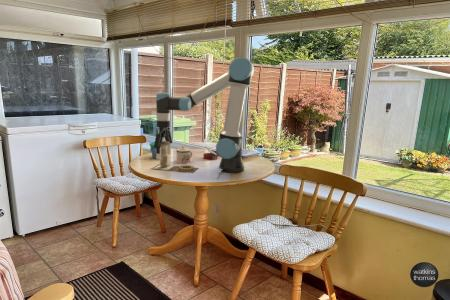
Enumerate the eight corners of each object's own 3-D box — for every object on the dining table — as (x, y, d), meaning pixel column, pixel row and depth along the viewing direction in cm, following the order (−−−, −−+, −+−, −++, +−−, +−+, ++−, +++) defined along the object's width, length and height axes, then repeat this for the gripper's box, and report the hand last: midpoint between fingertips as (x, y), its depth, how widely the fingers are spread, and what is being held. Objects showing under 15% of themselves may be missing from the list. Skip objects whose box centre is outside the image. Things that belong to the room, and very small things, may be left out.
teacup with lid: (182, 166, 191) (182, 147, 188) (173, 163, 196) (173, 145, 194) (196, 162, 199) (196, 145, 197) (187, 160, 205) (187, 143, 203)
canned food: (207, 163, 219) (211, 150, 222) (219, 163, 213) (222, 150, 216) (198, 158, 211) (201, 144, 213) (209, 158, 205) (213, 144, 207)
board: (199, 170, 182) (199, 165, 181) (192, 175, 170) (193, 170, 169) (158, 166, 187) (158, 162, 186) (149, 171, 175) (149, 166, 175)
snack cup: (145, 156, 214) (145, 142, 212) (159, 154, 220) (159, 140, 218) (156, 160, 202) (155, 145, 200) (170, 158, 209) (170, 144, 206)
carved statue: (170, 166, 181) (170, 141, 178) (168, 168, 177) (167, 142, 174) (159, 165, 182) (159, 140, 179) (156, 167, 178) (156, 141, 175)
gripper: (165, 118, 187) (166, 151, 191) (147, 122, 163) (148, 160, 167) (177, 118, 185) (177, 152, 189) (160, 122, 161) (160, 161, 166)
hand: (163, 156), depth 178 cm, fingers open, 13 cm apart
